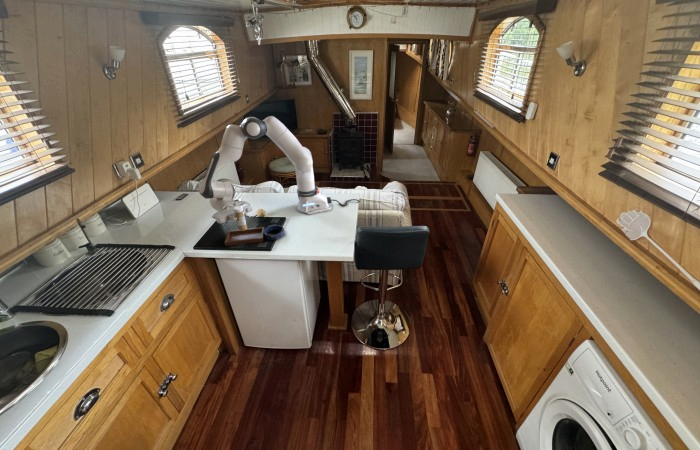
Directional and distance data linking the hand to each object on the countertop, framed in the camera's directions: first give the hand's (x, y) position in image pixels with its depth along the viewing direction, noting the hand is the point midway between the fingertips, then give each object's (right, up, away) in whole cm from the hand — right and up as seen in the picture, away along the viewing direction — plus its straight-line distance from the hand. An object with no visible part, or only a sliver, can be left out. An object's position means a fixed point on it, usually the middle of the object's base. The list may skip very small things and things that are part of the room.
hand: (241, 217), depth 152 cm
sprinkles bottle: (-1, -7, +5) cm, 8 cm away
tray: (0, -12, +8) cm, 14 cm away
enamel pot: (+15, -10, +10) cm, 21 cm away
